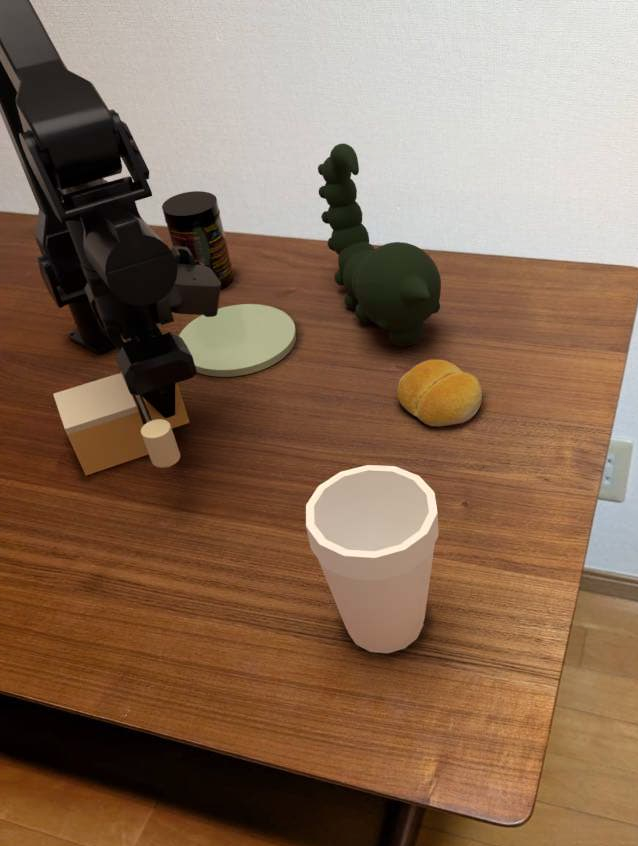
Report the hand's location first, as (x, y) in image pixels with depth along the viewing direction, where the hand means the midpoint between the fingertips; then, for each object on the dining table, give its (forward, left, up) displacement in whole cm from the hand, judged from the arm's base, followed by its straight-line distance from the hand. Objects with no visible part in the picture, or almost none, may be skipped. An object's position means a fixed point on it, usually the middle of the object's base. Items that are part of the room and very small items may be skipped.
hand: (161, 398), depth 85 cm
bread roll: (+21, +19, -4) cm, 29 cm away
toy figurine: (+5, +29, -4) cm, 30 cm away
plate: (-6, +15, -4) cm, 17 cm away
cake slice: (0, 0, -2) cm, 2 cm away
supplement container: (-20, +23, -4) cm, 31 cm away
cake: (-3, -6, -4) cm, 7 cm away
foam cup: (+35, -7, -4) cm, 36 cm away
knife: (+4, -4, -3) cm, 6 cm away
